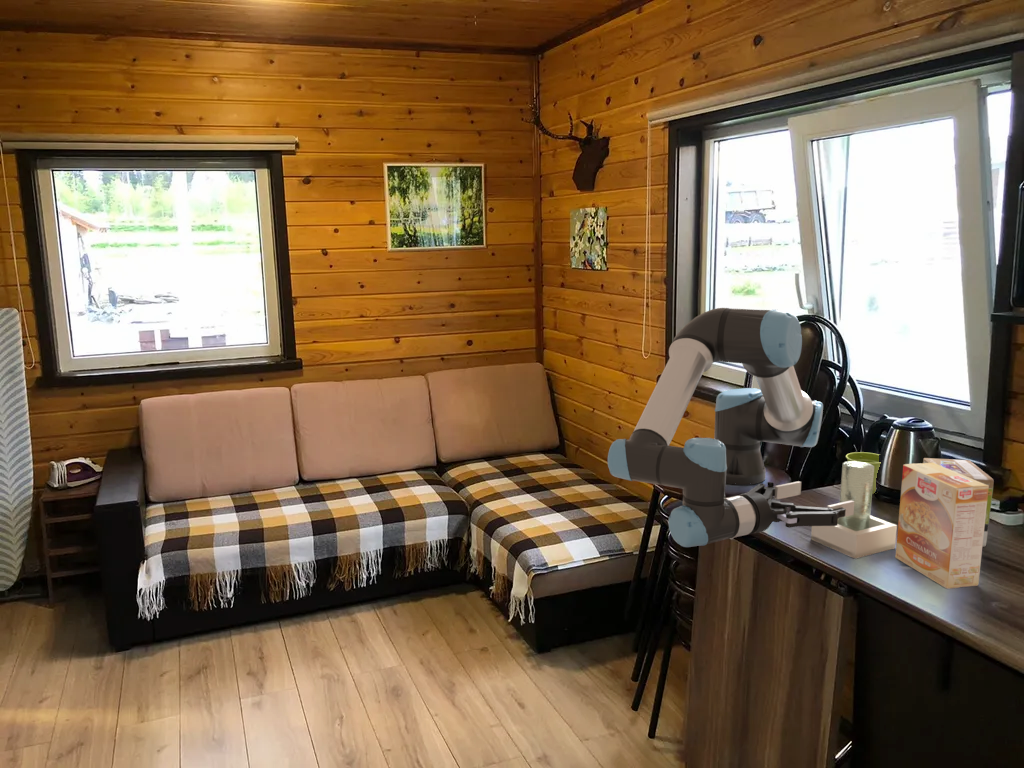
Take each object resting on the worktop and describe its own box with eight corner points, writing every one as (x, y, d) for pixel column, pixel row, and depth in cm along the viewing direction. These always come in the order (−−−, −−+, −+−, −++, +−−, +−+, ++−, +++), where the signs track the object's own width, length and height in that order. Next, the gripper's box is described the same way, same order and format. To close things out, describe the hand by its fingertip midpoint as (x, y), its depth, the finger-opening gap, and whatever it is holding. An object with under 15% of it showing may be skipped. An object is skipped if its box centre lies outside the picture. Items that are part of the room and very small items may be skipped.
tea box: (988, 548, 170) (995, 479, 167) (935, 544, 172) (941, 476, 169) (964, 522, 184) (970, 458, 181) (915, 519, 186) (921, 456, 183)
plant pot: (868, 499, 199) (870, 464, 198) (835, 488, 207) (837, 455, 206) (892, 492, 204) (895, 458, 202) (859, 482, 212) (862, 450, 210)
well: (810, 539, 175) (812, 517, 174) (849, 530, 180) (851, 508, 179) (855, 558, 165) (856, 535, 164) (895, 548, 170) (896, 525, 169)
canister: (830, 536, 173) (836, 463, 170) (850, 531, 176) (856, 459, 173) (853, 546, 168) (860, 471, 165) (874, 541, 171) (880, 467, 168)
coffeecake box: (893, 557, 165) (901, 463, 161) (925, 554, 167) (933, 461, 163) (945, 589, 151) (956, 487, 147) (980, 586, 152) (991, 484, 148)
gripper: (700, 513, 168) (778, 497, 178) (791, 556, 147) (875, 535, 156) (701, 478, 167) (780, 463, 176) (793, 516, 145) (878, 497, 154)
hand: (825, 497), depth 166 cm, fingers open, 13 cm apart
